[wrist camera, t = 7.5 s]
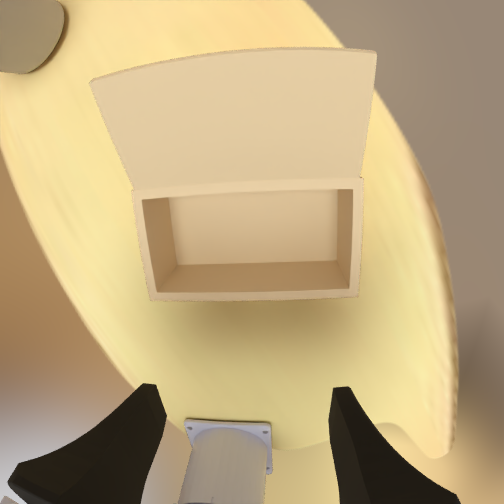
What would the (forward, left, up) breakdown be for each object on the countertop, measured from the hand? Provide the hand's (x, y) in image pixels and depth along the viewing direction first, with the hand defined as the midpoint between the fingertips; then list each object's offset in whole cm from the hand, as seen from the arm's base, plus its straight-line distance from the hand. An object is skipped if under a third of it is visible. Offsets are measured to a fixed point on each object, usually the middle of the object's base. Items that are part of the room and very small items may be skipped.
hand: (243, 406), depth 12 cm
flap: (+10, 0, -4) cm, 11 cm away
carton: (+5, 0, -10) cm, 11 cm away
